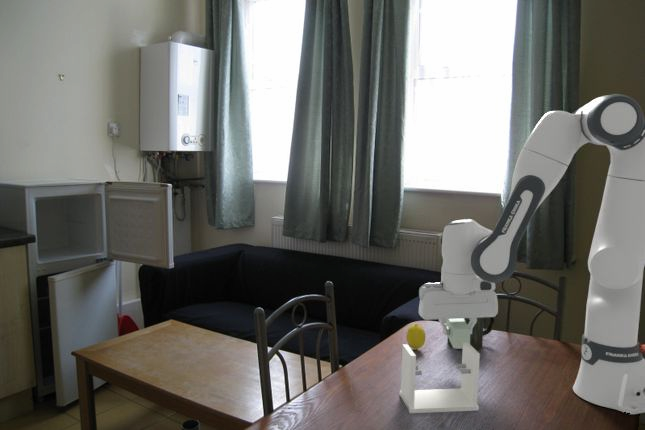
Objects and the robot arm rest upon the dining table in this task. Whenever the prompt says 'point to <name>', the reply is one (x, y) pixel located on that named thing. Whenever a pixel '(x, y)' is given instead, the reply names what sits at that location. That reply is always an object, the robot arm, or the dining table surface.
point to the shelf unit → (441, 397)
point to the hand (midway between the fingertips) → (457, 334)
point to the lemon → (415, 336)
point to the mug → (477, 332)
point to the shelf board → (458, 332)
